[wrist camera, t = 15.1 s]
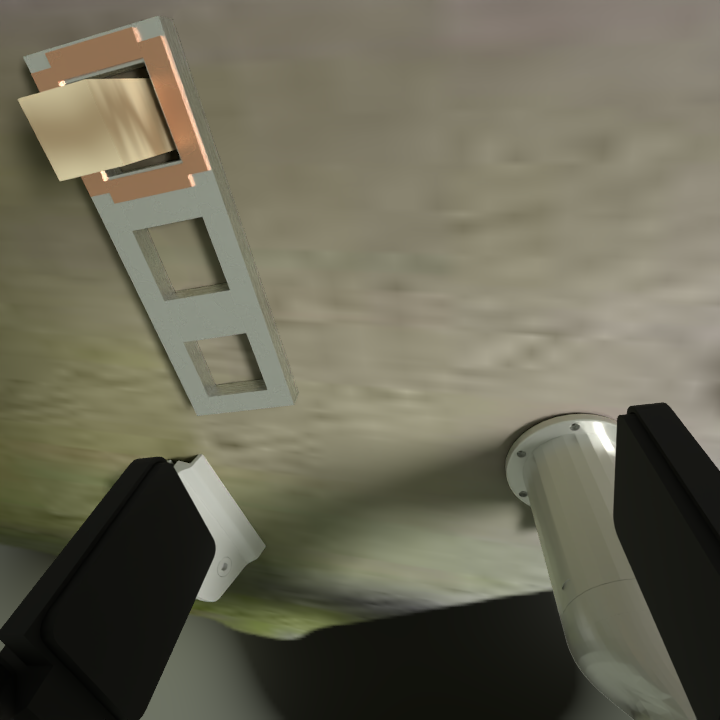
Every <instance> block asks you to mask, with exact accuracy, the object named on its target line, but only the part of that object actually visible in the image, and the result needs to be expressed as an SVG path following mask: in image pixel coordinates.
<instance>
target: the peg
mask: <svg viewBox="0 0 720 720" xmlns="http://www.w3.org/2000/svg"><path fill="white" fill-rule="evenodd" d="M18 101H19V103H20V105H21V107H22V109H23V111H24V113H25V115H26V117H27V119H28V120H29V122H30V124H31V126H32V128H33V130H34V132H35V134H36V136H37V138H38V140H39V142H40V144H41V146H42V148H43V150H44V152H45V153H46V155H47V157H48V159H49V161H50V163H51V165H52V167H53V169H54V171H55V173H56V175H57V177H58V179H59V181H63V180H67V179H72V178H76V177H80V176H84V175H88V174H92V173H96V172H100V171H104V170H108V169H112V168H117V167H121V166H125V165H128V164H131V163H134V162H137V161H141V160H144V159H147V158H150V157H153V156H157V155H160V154H163V153H166V152H169V151H173V150H176V149H177V148H176V145H175V143H174V140H173V137H172V135H171V132H170V129H169V127H168V124H167V121H166V119H165V116H164V113H163V111H162V108H161V106H160V103H159V100H158V98H157V95H156V92H155V90H154V87H153V84H152V82H151V79H150V78H138V79H84V80H81V81H78V82H74V83H71V84H67V85H64V86H60V87H57V88H54V89H50V90H47V91H43V92H40V93H37V94H33V95H30V96H26V97H23V98H19V99H18Z"/></svg>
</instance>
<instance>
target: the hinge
mask: <svg viewBox="0 0 720 720" xmlns="http://www.w3.org/2000/svg"><path fill="white" fill-rule="evenodd" d="M167 462H169V463H171V464H172V465H173V466H174V468H175V470H176V472H177V473H178V475H179V477H180V479H181V481H182V482H183V484H184V486H185V488H186V490H187V491H188V493H189V495H190V497H191V499H192V501H193V502H194V504H195V506H196V508H197V510H198V511H199V513H200V515H201V517H202V519H203V520H204V522H205V524H206V526H207V528H208V529H209V531H210V533H211V535H212V537H213V538H214V541H215V544H216V552H215V556H214V559H213V561H212V564H211V566H210V568H209V570H208V572H207V575H206V577H205V579H204V581H203V584H202V586H201V588H200V590H199V593H198V595H197V597H196V599H198V600H201V601H205V602H215V601H217V600H218V599H219V598H220V597H221V596H222V595H223V593H224V592H225V591H226V590H227V588H228V587H229V586H230V585H231V583H232V582H233V581H234V580H235V578H236V577H237V576H238V575H239V573H240V572H241V571H242V570H243V568H244V567H245V566H246V565H247V564H248V563H250V562H252V561H254V560H256V559H257V558H258V557H259V556H260V554H261V553H262V551H263V550H264V548H265V547H266V546H265V544H264V543H263V541H262V540H261V538H260V537H259V535H258V534H257V532H256V531H255V530H254V528H253V527H252V525H251V524H250V522H249V521H248V519H247V518H246V516H245V515H244V514H243V512H242V511H241V509H240V508H239V506H238V505H237V503H236V502H235V501H234V499H233V498H232V496H231V495H230V493H229V492H228V490H227V489H226V487H225V486H224V485H223V483H222V482H221V480H220V479H219V477H218V476H217V474H216V473H215V471H214V470H213V469H212V467H211V466H210V464H209V463H208V461H207V460H206V458H205V457H204V455H203V454H199V455H198V456H197V457H196V458H195V459H194V460H193V461H192V462H191V463H186V462H182V461H177V463H176V464H175V465H174V463H173V462H172V461H171V460H167Z"/></svg>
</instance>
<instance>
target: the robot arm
mask: <svg viewBox="0 0 720 720" xmlns="http://www.w3.org/2000/svg"><path fill="white" fill-rule="evenodd" d="M505 472H506V477H507V481H508V484H509V487H510V488H511V490H512V491H513V493H514V494H515V495H516V496H517V497H518V498H519V499H520V500H521V501H522V502H524V503H525V504H527V505H529V506H530V507H531V509H532V513H533V517H534V521H535V524H536V528H537V532H538V536H539V539H540V543H541V547H542V551H543V555H544V558H545V562H546V566H547V570H548V573H549V577H550V581H551V585H552V588H553V592H554V595H555V600H556V603H557V607H558V611H559V615H560V618H561V622H562V626H563V630H564V633H565V637H566V641H567V644H568V647H569V650H570V652H571V654H572V656H573V658H574V660H575V662H576V663H577V665H578V667H579V668H580V670H581V671H582V673H583V674H584V675H585V676H586V677H587V679H588V680H589V681H590V682H591V683H592V684H593V685H594V686H595V687H596V688H597V689H598V690H599V691H600V692H601V693H602V694H604V696H606V697H607V698H608V699H609V700H610V701H611V702H613V703H614V704H615V705H616V706H618V707H619V708H620V709H621V710H622V711H624V712H625V713H626V714H627V715H629V716H630V717H631V718H632V719H634V720H720V471H719V470H718V468H717V467H716V466H715V464H714V463H713V462H712V461H711V459H710V458H709V457H708V455H707V454H706V453H705V451H704V450H703V449H702V448H701V446H700V445H699V444H698V442H697V441H696V440H695V439H694V437H693V436H692V435H691V433H690V432H689V431H688V430H687V428H686V427H685V426H684V424H683V423H682V422H681V421H680V419H679V418H678V417H677V415H676V414H675V413H674V411H673V410H672V409H671V408H670V406H669V405H667V404H666V403H654V404H645V405H636V406H630V407H629V408H628V410H627V414H626V415H619V416H618V418H617V421H614V420H612V419H610V418H607V417H603V416H599V415H592V414H570V415H564V416H559V417H555V418H552V419H549V420H546V421H543V422H541V423H539V424H537V425H535V426H534V427H532V428H530V429H529V430H527V431H526V432H525V433H523V434H522V435H521V436H520V437H519V438H518V439H517V440H516V441H515V442H514V444H513V445H512V447H511V449H510V450H509V452H508V455H507V458H506V462H505ZM215 552H216V544H215V541H214V538H213V537H212V535H211V533H210V531H209V529H208V528H207V526H206V524H205V522H204V520H203V519H202V517H201V515H200V513H199V511H198V510H197V508H196V506H195V504H194V502H193V501H192V499H191V497H190V495H189V493H188V491H187V490H186V488H185V486H184V484H183V482H182V481H181V479H180V477H179V475H178V473H177V472H176V470H175V468H174V466H173V465H172V464H171V463H169V462H167V461H166V460H165V459H164V458H163V457H151V458H141V459H136V460H134V461H133V462H132V463H131V464H130V465H129V466H128V467H127V469H126V470H125V471H124V472H123V474H122V475H121V476H120V478H119V479H118V480H117V481H116V483H115V484H114V485H113V486H112V488H111V489H110V490H109V492H108V493H107V494H106V495H105V497H104V498H103V499H102V501H101V502H100V503H99V504H98V506H97V507H96V508H95V509H94V511H93V512H92V513H91V515H90V516H89V517H88V518H87V520H86V521H85V522H84V523H83V525H82V526H81V527H80V529H79V530H78V531H77V532H76V534H75V535H74V536H73V538H72V539H71V540H70V541H69V543H68V544H67V545H66V546H65V548H64V549H63V550H62V552H61V553H60V554H59V555H58V557H57V558H56V559H55V560H54V562H53V563H52V565H51V566H50V567H49V568H48V569H47V571H46V572H45V573H44V575H43V576H42V577H41V578H40V580H39V581H38V582H37V583H36V585H35V586H34V587H33V589H32V590H31V591H30V592H29V594H28V595H27V596H26V598H25V599H24V600H23V601H22V603H21V604H20V605H19V606H18V608H17V609H16V610H15V611H14V613H13V614H12V615H11V617H10V618H9V619H8V621H7V622H6V623H5V624H4V626H3V627H2V628H1V629H0V640H1V641H2V642H3V643H4V644H5V647H4V648H3V649H2V651H1V652H0V720H139V719H140V718H141V717H142V716H143V714H144V712H145V710H146V709H147V706H148V704H149V702H150V700H151V697H152V695H153V693H154V691H155V689H156V686H157V684H158V682H159V680H160V677H161V675H162V673H163V671H164V668H165V666H166V664H167V662H168V659H169V657H170V655H171V653H172V651H173V648H174V646H175V644H176V642H177V639H178V637H179V635H180V633H181V630H182V628H183V626H184V624H185V621H186V619H187V617H188V615H189V613H190V610H191V608H192V606H193V604H194V601H195V599H196V597H197V595H198V593H199V590H200V588H201V586H202V584H203V581H204V579H205V577H206V575H207V572H208V570H209V568H210V566H211V564H212V561H213V559H214V556H215Z"/></svg>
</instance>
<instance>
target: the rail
mask: <svg viewBox="0 0 720 720" xmlns="http://www.w3.org/2000/svg"><path fill="white" fill-rule="evenodd" d="M23 58H24V60H25V62H26V64H27V66H28V68H29V70H30V72H31V75H32V77H33V79H34V81H35V83H36V85H37V87H38V89H39V91H40V92H43V91H47V90H50V89H54V88H57V87H60V86H64V85H67V84H71V83H74V82H78V81H81V80H84V79H102V78H105V77H109V76H112V75H116V74H119V73H123V72H126V71H130V70H134V69H137V68H141V67H144V66H146V68H147V71H148V74H149V76H150V79H151V82H152V84H153V87H154V90H155V92H156V95H157V98H158V100H159V103H160V106H161V108H162V111H163V113H164V116H165V119H166V121H167V124H168V127H169V129H170V132H171V135H172V137H173V140H174V143H175V145H176V148H177V151H178V153H179V156H180V159H178V160H174V161H170V162H165V163H161V164H157V165H152V166H148V167H144V168H140V169H135V170H131V171H127V172H122V171H121V169H120V167H117V168H112V169H108V170H104V171H100V172H96V173H92V174H88V175H84V176H81V178H82V180H83V182H84V184H85V186H86V188H87V190H88V192H89V194H90V196H91V198H92V200H93V202H94V204H95V206H96V208H97V210H98V212H99V214H100V216H101V218H102V221H103V223H104V225H105V227H106V229H107V231H108V233H109V235H110V237H111V239H112V241H113V243H114V245H115V247H116V249H117V251H118V253H119V256H120V258H121V260H122V262H123V264H124V266H125V268H126V270H127V272H128V274H129V276H130V278H131V280H132V282H133V284H134V286H135V288H136V291H137V293H138V295H139V297H140V299H141V301H142V303H143V305H144V307H145V309H146V311H147V313H148V315H149V317H150V319H151V321H152V324H153V326H154V328H155V330H156V332H157V334H158V336H159V338H160V340H161V342H162V344H163V346H164V348H165V350H166V352H167V354H168V356H169V359H170V361H171V363H172V365H173V367H174V369H175V371H176V373H177V375H178V377H179V379H180V381H181V383H182V385H183V387H184V389H185V391H186V394H187V396H188V398H189V400H190V402H191V404H192V406H193V408H194V410H195V412H196V414H197V416H200V415H209V414H218V413H227V412H235V411H244V410H253V409H262V408H271V407H280V406H289V405H294V404H295V401H296V399H297V396H298V393H299V392H298V389H297V386H296V383H295V380H294V377H293V374H292V371H291V368H290V365H289V362H288V359H287V356H286V353H285V350H284V347H283V344H282V341H281V338H280V335H279V332H278V329H277V326H276V323H275V320H274V317H273V314H272V311H271V308H270V306H269V303H268V300H267V297H266V294H265V291H264V288H263V285H262V282H261V279H260V276H259V273H258V270H257V267H256V264H255V261H254V258H253V255H252V252H251V249H250V246H249V243H248V240H247V237H246V234H245V231H244V228H243V225H242V222H241V219H240V216H239V214H238V211H237V208H236V205H235V202H234V199H233V196H232V193H231V190H230V187H229V184H228V181H227V178H226V175H225V172H224V169H223V166H222V163H221V160H220V157H219V154H218V151H217V148H216V145H215V142H214V139H213V136H212V133H211V130H210V127H209V124H208V122H207V119H206V116H205V113H204V110H203V107H202V104H201V101H200V98H199V95H198V92H197V89H196V86H195V83H194V80H193V77H192V74H191V71H190V68H189V65H188V62H187V59H186V56H185V53H184V50H183V47H182V44H181V41H180V38H179V35H178V32H177V30H176V27H175V24H174V21H173V19H171V18H166V17H162V16H156V17H153V18H149V19H146V20H143V21H139V22H136V23H133V24H130V25H126V26H123V27H120V28H116V29H113V30H110V31H107V32H103V33H100V34H97V35H93V36H90V37H87V38H83V39H80V40H77V41H74V42H70V43H67V44H64V45H60V46H57V47H54V48H50V49H47V50H44V51H41V52H37V53H34V54H31V55H27V56H24V57H23ZM198 217H203V220H204V222H205V225H206V228H207V230H208V233H209V236H210V238H211V241H212V244H213V246H214V249H215V252H216V254H217V257H218V259H219V262H220V265H221V267H222V270H223V273H224V275H225V278H226V281H227V283H223V284H217V285H211V286H205V287H200V288H194V289H188V290H182V291H176V292H175V291H174V289H173V286H172V284H171V282H170V280H169V277H168V275H167V273H166V270H165V268H164V266H163V264H162V261H161V259H160V257H159V255H158V252H157V250H156V248H155V246H154V243H153V241H152V239H151V236H150V234H149V232H148V230H147V228H149V227H154V226H159V225H164V224H169V223H174V222H179V221H184V220H189V219H194V218H198ZM243 333H246V334H247V336H248V339H249V342H250V344H251V347H252V350H253V352H254V355H255V358H256V360H257V363H258V366H259V368H260V371H261V374H262V376H263V379H260V380H252V381H244V382H236V383H229V384H221V385H216V384H215V381H214V379H213V377H212V375H211V372H210V370H209V368H208V366H207V363H206V361H205V359H204V357H203V354H202V352H201V350H200V347H199V345H198V343H197V341H196V340H202V339H209V338H216V337H223V336H230V335H236V334H243Z"/></svg>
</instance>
